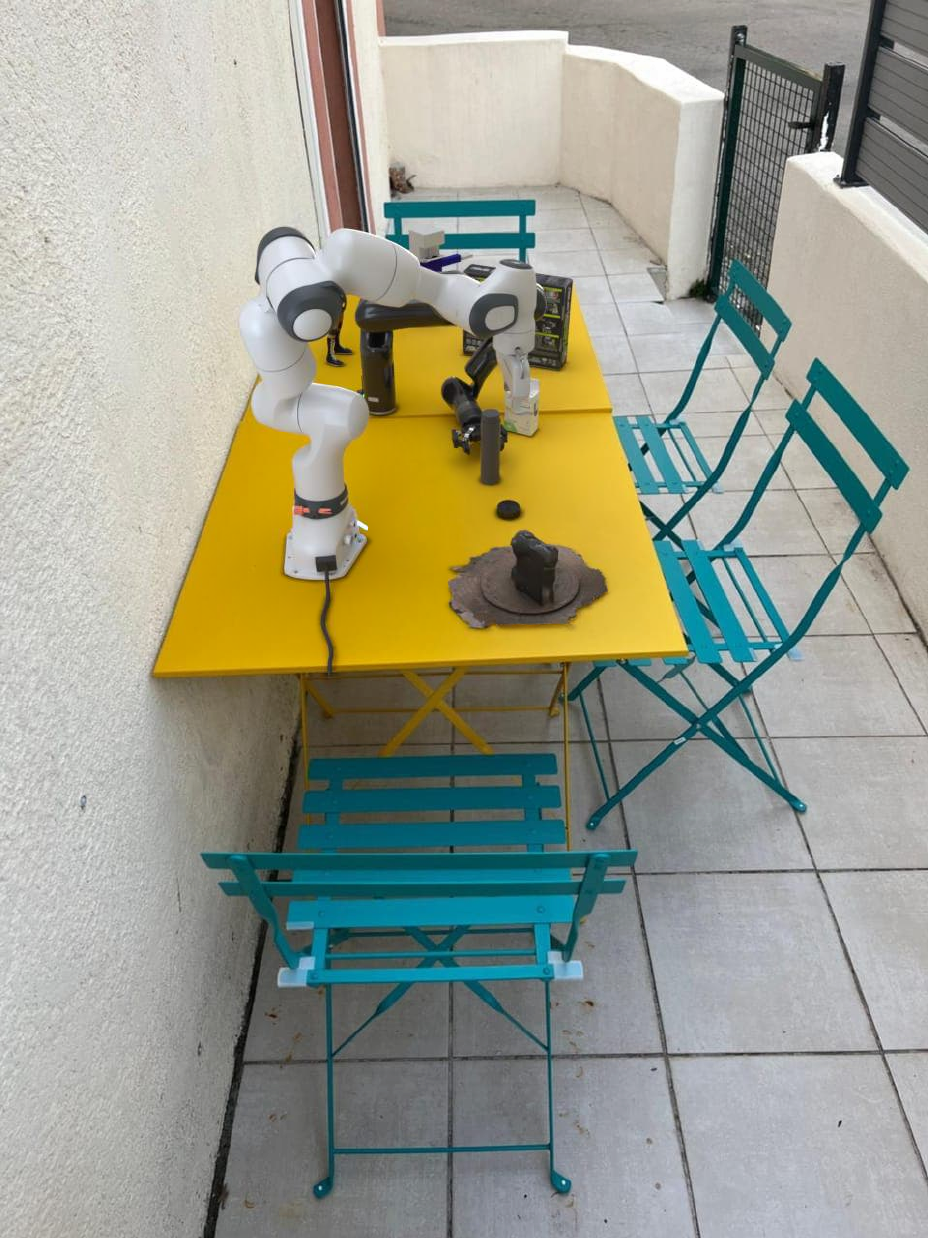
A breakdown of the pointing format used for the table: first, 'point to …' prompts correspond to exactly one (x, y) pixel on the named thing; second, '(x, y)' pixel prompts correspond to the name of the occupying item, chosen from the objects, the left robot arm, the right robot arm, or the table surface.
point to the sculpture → (524, 584)
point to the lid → (508, 509)
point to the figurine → (336, 344)
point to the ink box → (523, 411)
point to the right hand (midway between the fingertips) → (485, 449)
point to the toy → (431, 248)
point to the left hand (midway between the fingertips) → (511, 399)
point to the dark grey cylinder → (490, 446)
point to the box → (547, 329)
